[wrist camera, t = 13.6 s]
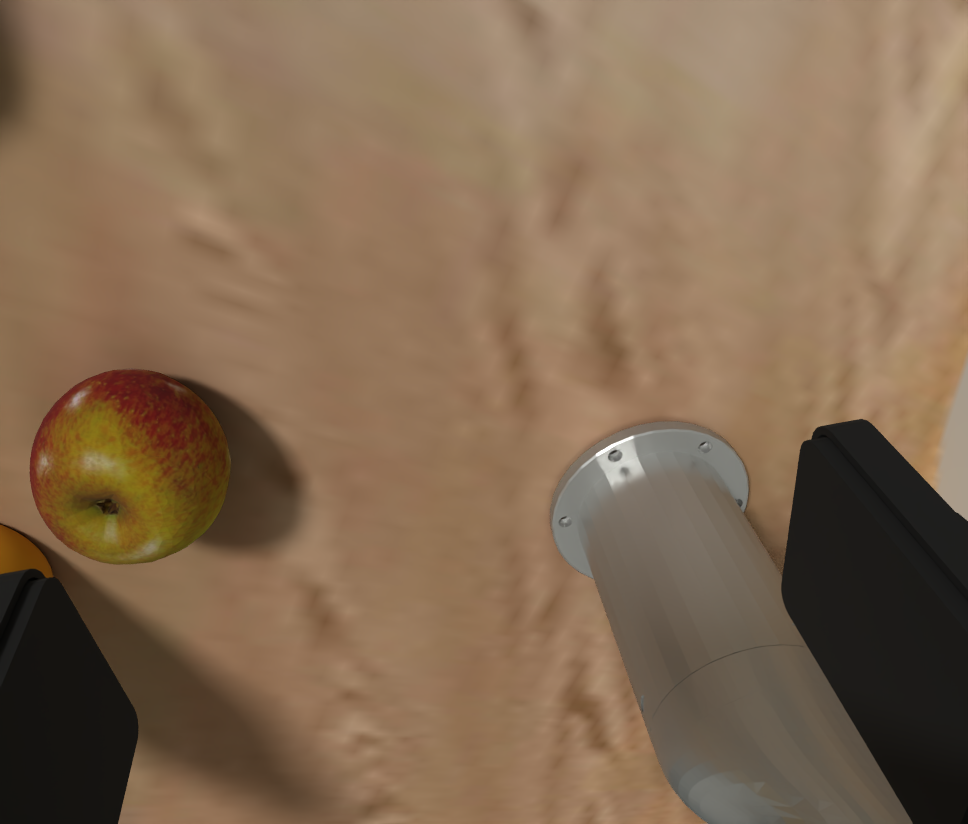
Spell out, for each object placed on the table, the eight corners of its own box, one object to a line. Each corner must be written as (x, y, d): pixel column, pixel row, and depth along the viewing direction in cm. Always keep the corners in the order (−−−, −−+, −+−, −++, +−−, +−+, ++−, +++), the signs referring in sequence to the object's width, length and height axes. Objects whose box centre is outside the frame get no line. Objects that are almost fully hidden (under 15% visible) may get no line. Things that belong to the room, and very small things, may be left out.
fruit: (27, 353, 40) (-34, 449, 34) (214, 332, 41) (190, 422, 34) (90, 501, 46) (48, 608, 39) (254, 481, 46) (239, 582, 40)
